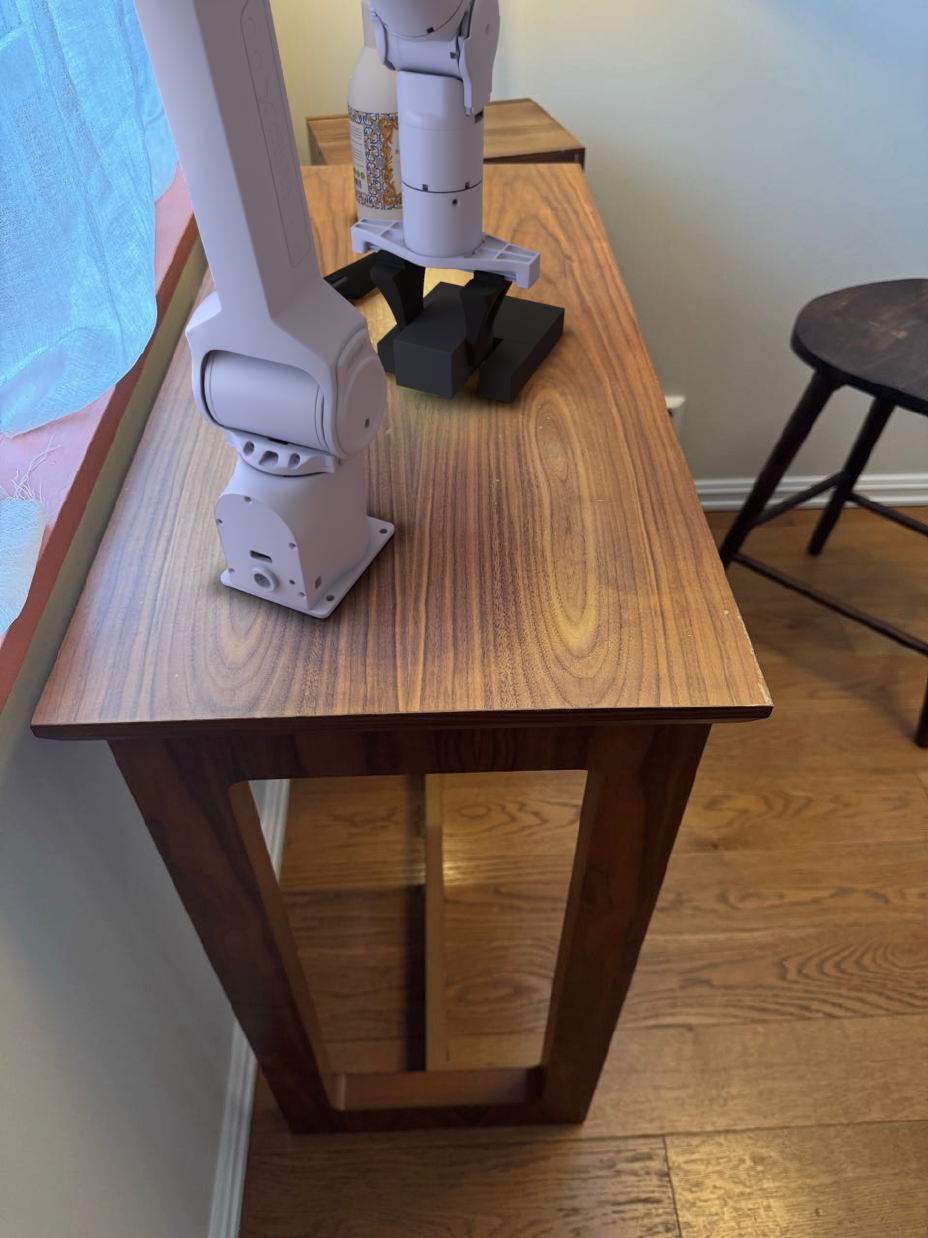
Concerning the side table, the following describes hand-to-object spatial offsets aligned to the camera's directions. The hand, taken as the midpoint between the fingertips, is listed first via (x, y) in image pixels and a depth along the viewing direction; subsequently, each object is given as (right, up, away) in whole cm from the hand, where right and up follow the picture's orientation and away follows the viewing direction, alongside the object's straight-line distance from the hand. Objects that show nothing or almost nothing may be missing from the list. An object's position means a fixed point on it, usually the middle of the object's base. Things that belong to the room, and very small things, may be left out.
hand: (445, 352), depth 73 cm
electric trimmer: (-10, +8, +11) cm, 17 cm away
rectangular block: (0, -1, +1) cm, 1 cm away
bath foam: (-6, +21, +24) cm, 32 cm away
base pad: (+2, +2, +5) cm, 6 cm away
